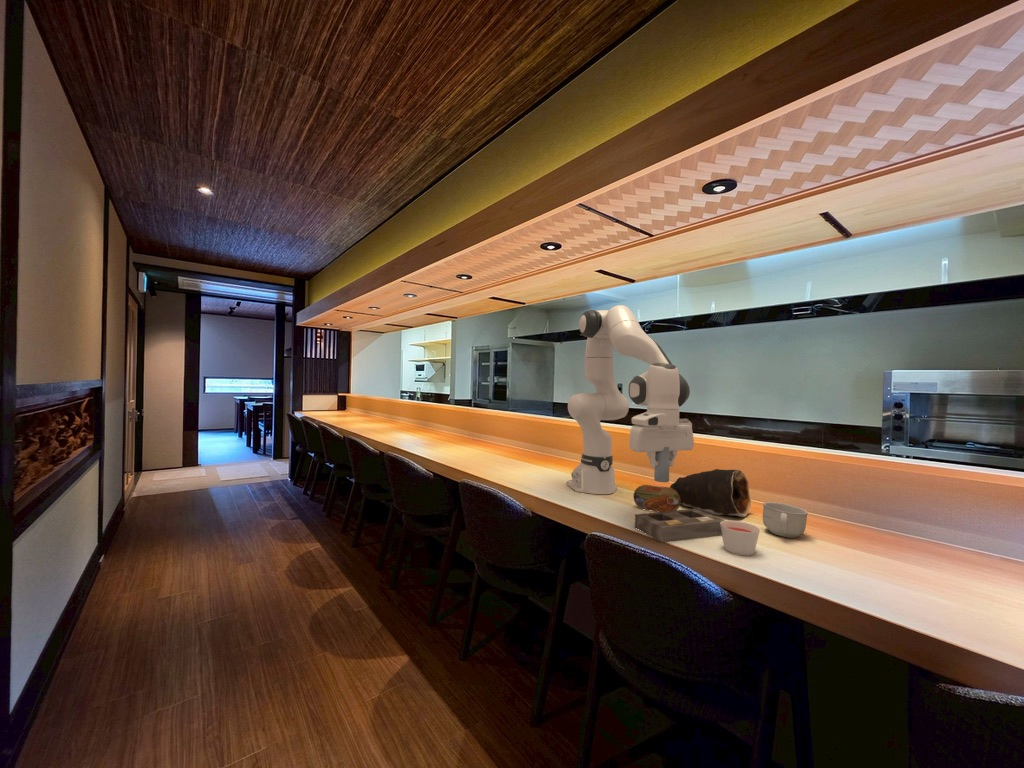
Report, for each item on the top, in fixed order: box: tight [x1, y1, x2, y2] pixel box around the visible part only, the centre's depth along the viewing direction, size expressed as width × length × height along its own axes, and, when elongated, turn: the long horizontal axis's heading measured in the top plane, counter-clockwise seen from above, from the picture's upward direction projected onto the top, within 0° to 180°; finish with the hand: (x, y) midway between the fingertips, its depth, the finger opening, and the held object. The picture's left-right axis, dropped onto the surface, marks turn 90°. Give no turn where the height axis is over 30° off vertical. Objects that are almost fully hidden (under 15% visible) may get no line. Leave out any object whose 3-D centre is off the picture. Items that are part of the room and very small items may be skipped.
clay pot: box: [669, 468, 752, 518], centre depth 145 cm, size 15×15×25 cm
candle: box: [720, 519, 761, 556], centre depth 108 cm, size 9×9×6 cm
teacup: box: [762, 501, 809, 539], centre depth 120 cm, size 14×11×8 cm
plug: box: [653, 447, 670, 483], centre depth 121 cm, size 4×4×10 cm
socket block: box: [634, 508, 726, 543], centre depth 121 cm, size 12×22×4 cm, turn 109°
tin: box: [633, 484, 681, 512], centre depth 141 cm, size 15×3×8 cm, turn 62°
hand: (661, 466), depth 121 cm, fingers closed on plug, 4 cm apart
